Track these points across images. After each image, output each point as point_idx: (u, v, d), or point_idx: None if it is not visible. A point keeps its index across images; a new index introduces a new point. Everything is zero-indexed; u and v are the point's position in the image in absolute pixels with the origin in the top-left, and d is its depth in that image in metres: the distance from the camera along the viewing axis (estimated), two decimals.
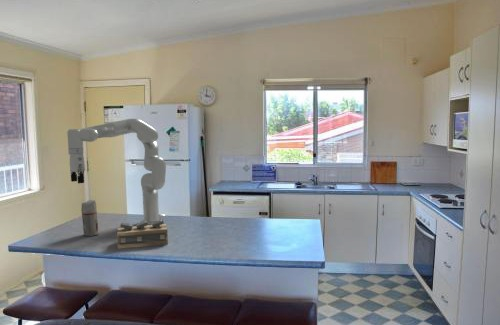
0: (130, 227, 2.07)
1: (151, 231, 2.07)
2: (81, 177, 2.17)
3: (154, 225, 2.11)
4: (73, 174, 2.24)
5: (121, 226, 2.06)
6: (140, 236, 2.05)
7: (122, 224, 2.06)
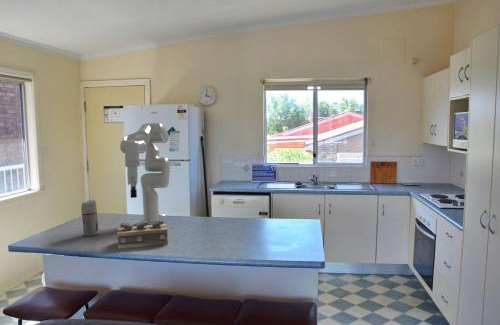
0: (130, 227, 2.07)
1: (151, 231, 2.07)
2: None
3: (154, 225, 2.11)
4: None
5: (121, 226, 2.06)
6: (140, 236, 2.05)
7: (122, 224, 2.06)
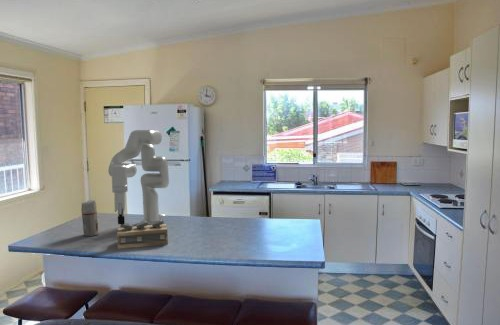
0: (130, 227, 2.07)
1: (151, 231, 2.07)
2: None
3: (154, 225, 2.11)
4: None
5: (121, 226, 2.06)
6: (140, 236, 2.05)
7: (122, 224, 2.06)
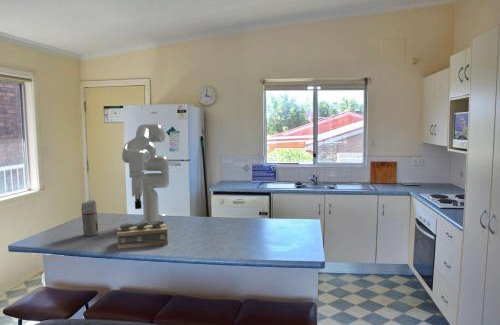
0: (130, 225, 2.07)
1: (151, 231, 2.07)
2: None
3: (154, 225, 2.11)
4: None
5: (121, 228, 2.06)
6: (140, 236, 2.05)
7: (121, 226, 2.06)
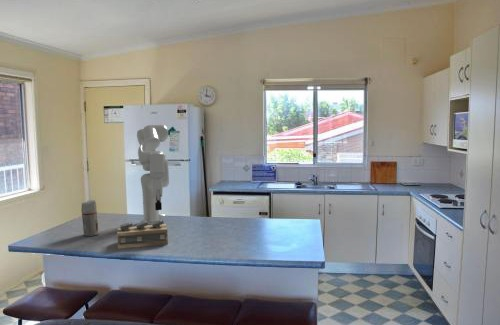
0: (130, 225, 2.07)
1: (151, 231, 2.07)
2: None
3: (154, 225, 2.11)
4: None
5: (121, 228, 2.06)
6: (140, 236, 2.05)
7: (121, 226, 2.06)
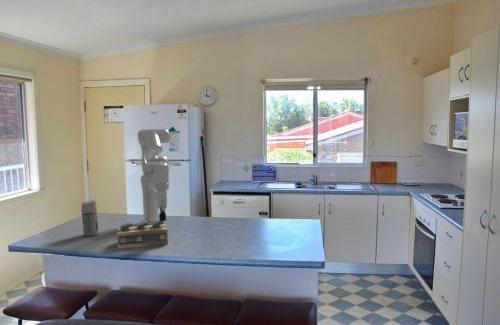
0: (130, 225, 2.07)
1: (151, 231, 2.07)
2: None
3: (154, 225, 2.11)
4: None
5: (121, 228, 2.06)
6: (140, 236, 2.05)
7: (121, 226, 2.06)
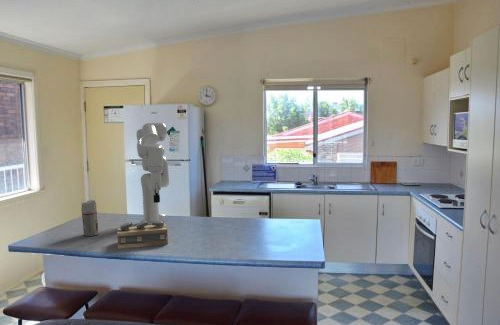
0: (130, 225, 2.07)
1: (151, 231, 2.07)
2: None
3: (154, 224, 2.11)
4: None
5: (121, 228, 2.06)
6: (140, 236, 2.05)
7: (121, 226, 2.06)
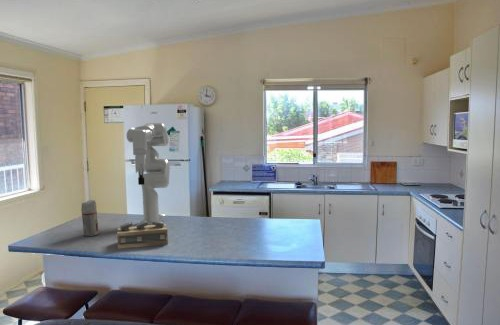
0: (130, 225, 2.07)
1: (151, 231, 2.07)
2: None
3: (154, 223, 2.11)
4: None
5: (121, 228, 2.06)
6: (140, 236, 2.05)
7: (121, 226, 2.06)
